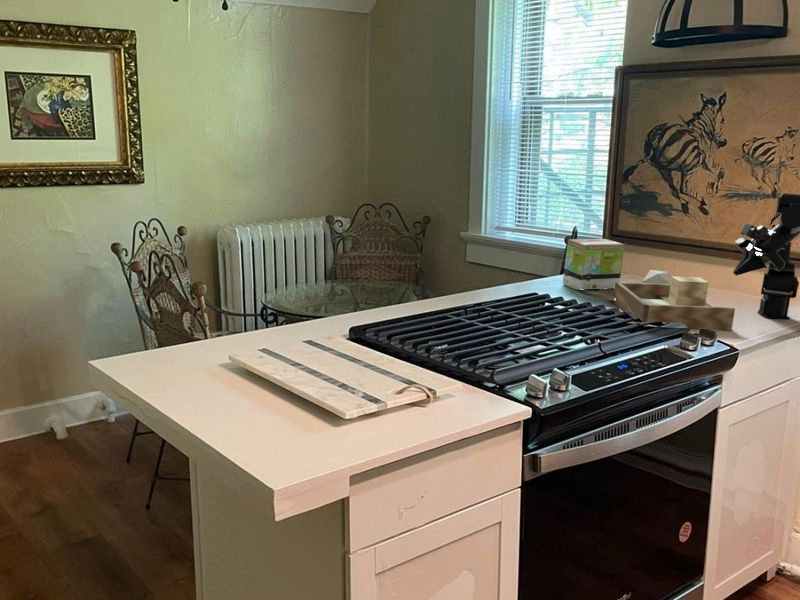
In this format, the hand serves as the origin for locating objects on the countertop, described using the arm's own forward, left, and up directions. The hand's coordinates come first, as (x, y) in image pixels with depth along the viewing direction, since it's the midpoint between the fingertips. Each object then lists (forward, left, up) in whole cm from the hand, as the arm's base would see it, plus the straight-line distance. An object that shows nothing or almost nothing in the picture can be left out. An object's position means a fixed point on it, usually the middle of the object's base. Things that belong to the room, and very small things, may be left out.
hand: (734, 274), depth 214 cm
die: (+13, -21, -13) cm, 28 cm away
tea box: (+30, -32, -13) cm, 46 cm away
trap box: (+17, 0, -12) cm, 21 cm away
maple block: (+12, 0, -9) cm, 15 cm away
